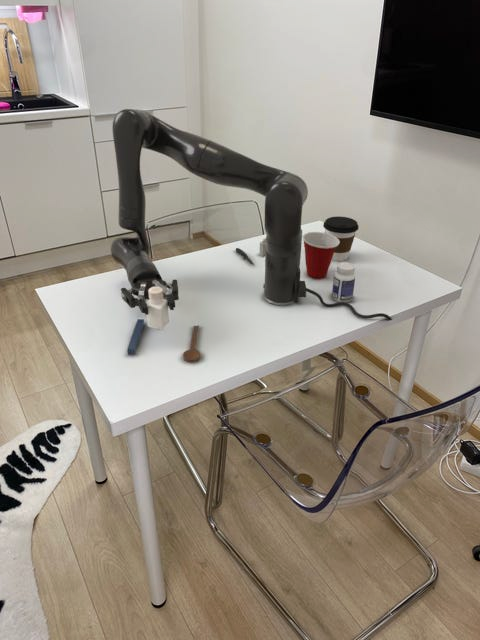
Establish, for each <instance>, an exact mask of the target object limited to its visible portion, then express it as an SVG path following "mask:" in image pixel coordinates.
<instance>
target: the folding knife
mask: <svg viewBox="0 0 480 640" xmlns="http://www.w3.org/2000/svg"><path fill="white" fill-rule="evenodd" d="M235 252H236V253H237V254H238V255H240V256H241V257H243V260H244V261H245V260H246V261H247V262H248V263H249V264H250V265H254V262H253V261H252V260H251V258H250V257H249V255H248V254H247V253H246V252H245V251H244V250H243V249H241V248H240V247H235Z"/></svg>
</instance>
